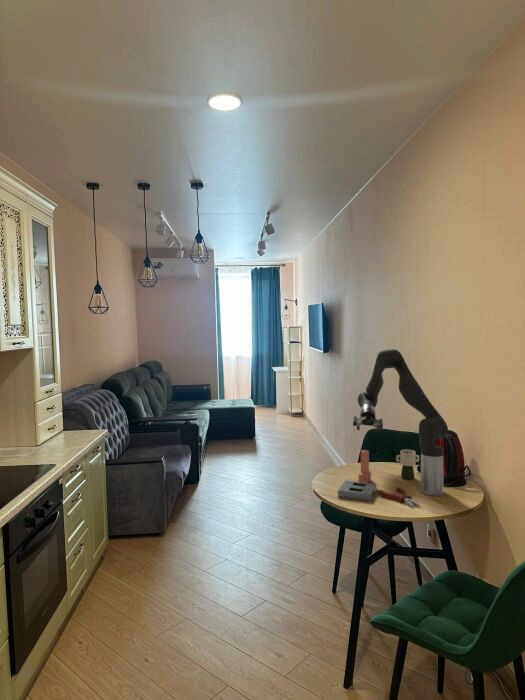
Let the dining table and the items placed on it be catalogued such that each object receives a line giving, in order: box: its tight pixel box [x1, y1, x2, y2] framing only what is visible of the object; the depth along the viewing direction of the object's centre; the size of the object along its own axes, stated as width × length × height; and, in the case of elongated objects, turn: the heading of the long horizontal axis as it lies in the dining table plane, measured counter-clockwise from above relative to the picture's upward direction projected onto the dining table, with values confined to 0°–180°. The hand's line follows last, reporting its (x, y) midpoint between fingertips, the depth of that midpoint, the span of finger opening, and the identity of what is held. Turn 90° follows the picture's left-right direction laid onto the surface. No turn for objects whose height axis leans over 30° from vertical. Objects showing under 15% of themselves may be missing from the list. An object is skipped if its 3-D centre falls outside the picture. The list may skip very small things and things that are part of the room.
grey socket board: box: [337, 479, 377, 502], centre depth 203 cm, size 14×14×3 cm
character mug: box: [396, 449, 420, 480], centre depth 223 cm, size 11×7×13 cm, turn 87°
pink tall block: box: [358, 449, 372, 483], centre depth 218 cm, size 4×9×15 cm, turn 156°
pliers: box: [377, 486, 421, 509], centre depth 196 cm, size 12×20×3 cm, turn 20°
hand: (367, 429), depth 220 cm, fingers open, 8 cm apart
